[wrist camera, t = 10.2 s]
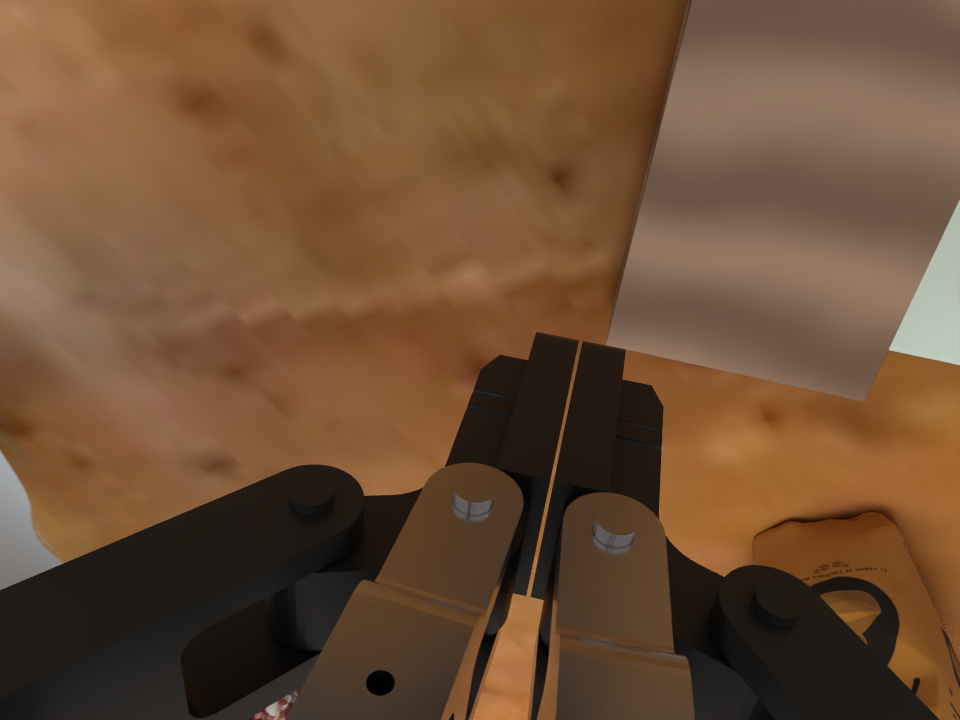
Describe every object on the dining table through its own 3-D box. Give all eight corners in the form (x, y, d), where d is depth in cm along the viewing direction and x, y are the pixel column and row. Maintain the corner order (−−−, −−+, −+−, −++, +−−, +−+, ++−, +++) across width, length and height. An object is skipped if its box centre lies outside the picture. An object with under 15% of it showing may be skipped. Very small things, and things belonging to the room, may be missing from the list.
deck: (709, -88, 33) (712, -79, 30) (1025, -37, 32) (1064, -21, 28) (612, 305, 43) (606, 344, 40) (850, 356, 42) (864, 401, 38)
